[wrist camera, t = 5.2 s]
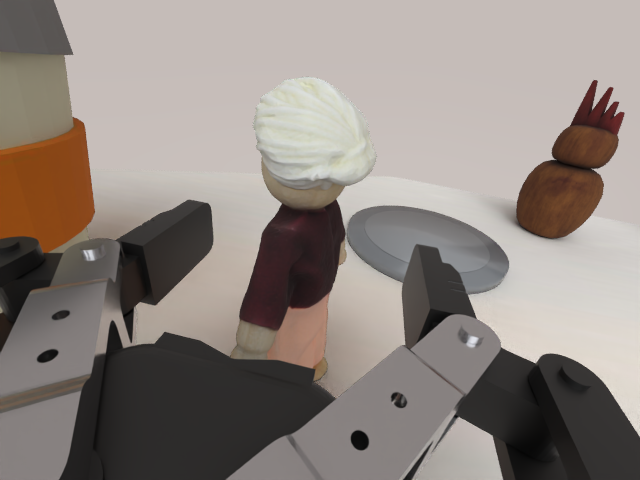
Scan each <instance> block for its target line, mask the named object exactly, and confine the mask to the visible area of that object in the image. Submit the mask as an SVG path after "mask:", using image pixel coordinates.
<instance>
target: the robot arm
mask: <svg viewBox="0 0 640 480" xmlns="http://www.w3.org/2000/svg"><path fill="white" fill-rule="evenodd" d="M212 245H213V227H212V213H211V207H210V205H209V204H208V203H204V202H199V201H194V200H187V201H185V202H184V203H182V204H180V205H179V206H177V207H175V208H174V209H172V210H169V211H166V212H163V213H160V214H158V215H157V216H155V217H153V218H152V219H151V220H150V221H149V220H148V221H147V222H145V223H143V224H142V226H141V225H140V226H138V227H137V228H135V229H133V230H132V231H130V232H128V233H127V234H125V235H123V236H122V237H120V238H118V239H117V240H112V239H101V238H100V239H91V240H86V241H82V242H79V243H77V244H74V245H72V246H71V247H69V248H68V249H66V250H65V251H64V253H43V251H42V248H41V246H40V244H39V241H38V240H37V239H35V238H33V237H27V236H17V237H8V238H3V239H0V307H1V309H2V311H3V312H2V313H0V480H415V479H416V478H417V476H418V475H419V473H420V472H421V470H422V469H423V467H424V466H425V464H426V463H427V461H428V460H429V459H430V457H431V456H432V454H433V453H434V452H435V450H436V449H437V447H438V446H439V445H440V443H441V442H442V440H443V439H444V438H445V436H446V435H447V434H448V432H449V431H450V429H451V428H452V427H453V425H454V424H455V422H456V421H457V420H458V418H459V417H460V418H462V419H464V420H466V421H468V422H469V423H471V424H473V425H475V426H477V427H478V428H480V429H482V430H484V431H486V432H487V433H489V434H491V435H493V439H494V443H495V447H496V452H497V456H498V460H499V464H500V468H501V472H502V476H503V480H640V437H639V435H638V434H637V432H636V431H635V429H634V428H633V426H632V424H631V423H630V421H629V420H628V418H627V417H626V415H625V414H624V412H623V411H622V409H621V408H620V406H619V405H618V403H617V402H616V400H615V399H614V397H613V395H612V394H611V392H610V391H609V389H608V388H607V387H606V385H605V384H604V383H603V382H602V380H601V379H600V378H599V377H597V376H596V375H595V374H594V373H593V372H592V371H590V370H589V369H588V368H586V367H585V366H583V365H582V364H580V363H578V362H576V361H574V360H572V359H570V358H568V357H565V356H562V355H558V354H545V355H543V356H541V357H540V358H539V360H538V361H537V363H536V364H535V363H533V362H531V361H529V360H526V359H524V358H522V357H520V356H517V355H515V354H513V353H511V352H509V351H507V350H505V349H503V348H501V343H500V340H499V338H498V336H497V335H496V334H495V332H494V331H493V330H492V329H491V328H490V327H488V326H487V325H486V324H484V323H483V322H481V321H479V320H477V318H476V316H475V313H474V310H473V308H472V305H471V302H470V300H469V297H468V294H467V293H466V289H465V287H464V285H463V281H462V279H461V276H460V273H459V272H458V271H457V270H456V269H455V268H454V267H453V266H452V265H451V264H448V263H443V262H442V259H441V256H440V253H439V250H438V248H436V247H431V246H426V245H421V244H416V245H415V247H414V249H413V252H412V255H411V259H410V262H409V265H408V268H407V271H406V274H405V277H404V281H403V286H402V303H403V317H404V330H405V343H406V346H405V345H402V346H400V347H398V348H397V349H396V350H395V351H393V352H392V353H391V354H390V355H389V356H387V357H386V358H385V359H384V360H383V361H381V362H380V363H379V364H378V365H377V366H375V367H374V368H373V369H372V370H371V371H369V372H368V373H367V374H366V375H365V376H363V377H362V378H361V379H360V380H359V381H357V382H356V383H355V384H354V385H352V386H351V387H350V388H349V389H348V390H346V391H345V392H344V393H343V394H342V395H340V396H339V397H338V398H337V399H336V398H335V397H334V396H333V395H331V394H330V393H329V392H328V391H327V390H325V389H324V388H322V387H321V386H319V385H317V384H316V383H314V377H315V371H316V369H312V368H308V367H304V366H300V365H296V364H292V363H288V362H284V361H280V360H261V359H234V358H231V357H229V356H227V355H225V354H223V353H221V352H220V351H218V350H216V349H214V348H212V347H211V346H209V345H207V344H205V343H203V342H201V341H199V340H195V339H191V338H187V337H183V336H179V335H175V334H171V333H167V332H164V333H163V335H162V336H161V337H160V338H159V339H158V340H157V341H156V343H155V344H141V345H136V333H137V309H136V305H137V304H138V303H139V302H142V303H147V304H151V305H156V304H157V303H158V302H159V301H160V300H161V299H163V298H164V297H165V296H166V295H167V294H168V293H169V292H170V291H171V290H172V289H173V288H174V287H175V286H176V285H177V284H178V283H179V282H180V281H181V280H182V279H183V278H184V277H185V276H186V275H187V274H188V273H189V272H190V271H191V270H192V269H193V268H194V267H195V266H196V265H197V264H198V263H199V262H200V261H201V260H202V259H203V258H204V257H205V256H206V255H207V254H208V253H209V252H210V250H211V248H212Z"/></svg>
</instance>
